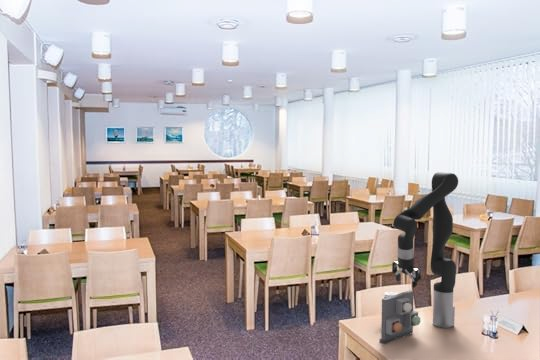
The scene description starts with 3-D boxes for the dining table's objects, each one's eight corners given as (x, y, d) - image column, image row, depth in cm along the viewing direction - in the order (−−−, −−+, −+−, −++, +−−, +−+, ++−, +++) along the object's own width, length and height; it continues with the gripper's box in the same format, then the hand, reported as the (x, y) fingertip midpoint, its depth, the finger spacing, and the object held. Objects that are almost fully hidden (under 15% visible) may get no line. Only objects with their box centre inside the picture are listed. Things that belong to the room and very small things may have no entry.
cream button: (411, 311, 218) (411, 302, 217) (406, 313, 215) (406, 304, 215) (407, 310, 220) (407, 301, 219) (401, 311, 217) (401, 303, 217)
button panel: (418, 334, 225) (419, 292, 224) (390, 346, 212) (391, 301, 211) (407, 330, 230) (408, 289, 229) (379, 342, 217) (380, 298, 216)
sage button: (420, 324, 223) (420, 315, 222) (415, 326, 220) (415, 317, 220) (415, 322, 224) (415, 314, 224) (410, 324, 222) (410, 316, 222)
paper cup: (399, 324, 239) (399, 296, 238) (383, 322, 241) (384, 295, 240) (398, 318, 247) (398, 291, 246) (383, 317, 248) (383, 290, 247)
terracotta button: (402, 331, 214) (402, 322, 213) (396, 333, 211) (396, 324, 211) (397, 329, 216) (397, 320, 215) (391, 331, 213) (391, 323, 213)
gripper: (423, 256, 226) (423, 285, 232) (397, 247, 236) (398, 275, 242) (414, 262, 221) (415, 292, 227) (388, 253, 232) (389, 282, 237)
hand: (406, 283), depth 234 cm, fingers open, 8 cm apart
